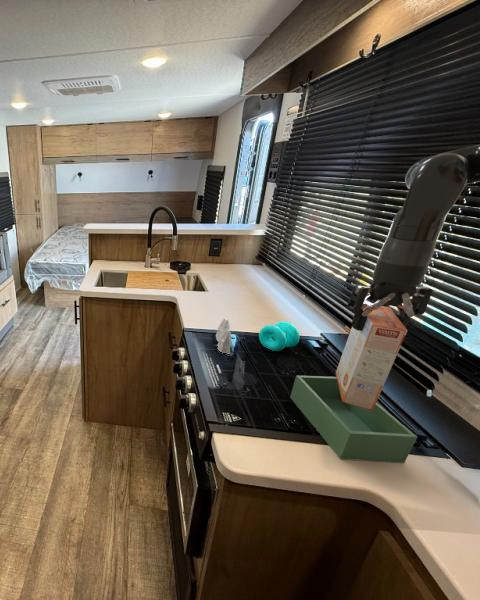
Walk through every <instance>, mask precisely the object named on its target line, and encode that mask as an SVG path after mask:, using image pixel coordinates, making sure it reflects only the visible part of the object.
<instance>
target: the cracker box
mask: <svg viewBox="0 0 480 600" xmlns="http://www.w3.org/2000/svg"><path fill="white" fill-rule="evenodd" d="M367 307H368V306H367ZM367 307H366V308H367ZM364 309H365V308H364ZM364 309H363V310H364ZM407 333H408V329H407V327H406V328H405V327H404V325H403V324H402V323H401V321H400V320H399V319H398V317H397V316H396V313H395V312H394V310H393V309H392V308H391V307H390V306H381V307H380V308H379V309H377V310H373V311H372V312H371V313H369V314H368V315H367V320H366V322H365V325H364V328H363V330H362V331H357V330H356V329H354V328H353V327H352V326H351V329H350V331H349V334H348V337H347V340H346V342H345V346H344V348H343V351H342V354H341V357H340V360H339V362H338V365H337V368H336V371H335V377H337V381H338V385H339V390H340V394H341V399H342V402H344V403H347V404H351V405H354V406H358V407H361V408H365V409H368V410H373V409H374V406H375V404H376V402H377V403H378V399H379V397H380V396H381V395H380V394H381V393H382V390H383V388H384V386H385V384H386V381H387V379H388V377H389V374H390V372H391V370H392V367H393V365H394V364H395V360H396V358H397V356H398V354H399V351H400V349H401V347H402V345H403V342H404V340H405V338H406V335H407Z"/></svg>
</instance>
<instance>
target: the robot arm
mask: <svg viewBox="0 0 480 600" xmlns="http://www.w3.org/2000/svg"><path fill="white" fill-rule="evenodd" d="M405 173H406V174H405V176H404V183H405V186H406V187H407V189H408V191H407V195H406V197H405V199H404V203H403V205H402V207H401V209H400V210H398V211H397V212H396V214H395V216H394V218H393V219H392V223H391V225H390V228H389V232H388V234H387V237H386V239H385V241H384V243H383V245H382V247H381V248H380V249H381V250H380V253H379V255H378V257H377V262H376V264H375V266H374V270H373V273H372V275H371V277H372V283H371V284H370V285H369V286H366V285H365V286H364V285H363V286H362V285H361V284H355V285H354V286H353V288H352V291H351V294H350V297H349V299H348V302H347V305H346V309H347V310H349V312H351V313H354V314H353V318H352V320H351V323H350V324H351V328H352V327H353V328H354V329H356V330H357V331H362V330H363V328H364V325H365V322H366V320H367V315H368V314H369V313H371V312H372V311H373V310H377V309H379V308H380V307H381V306H384V307H390V306H391V307H394V308H396V309H397V311H398V313H395V315H396V316H397V317H398V319H399V320H400V321H401V323H402V324H403V325H404V327H405V328H406V329H407V327H408V324H409V322H410V320H411V318H413V317H414V316H417V315H420V316H422V315H424V314H425V313H426V309H427V307H428V304H429V302H430V300H431V297H432V294H433V289H432V288H429V287H427V286H425V285H421V284H422V283H423V280H424V278H425V275H426V273H427V271H428V268H429V265H430V263H431V261H432V259H433V256H434V253H435V249H436V246H437V245H436V244H437V241H438V239H439V237H440V234H441V231H442V229H443V227H444V224H445V221H446V217H447V216H448V214H449V213H450V211H451V210H452V208H453V206H455V204H456V202H457V200H458V199H459V198H460V196H461V194H462V193H463V190H464V188H465V187H466V185H470V184H475V183H478V182H480V144H476V145H472V146H471V145H470V146H467V147H463V148H459V149H454V150H449V151H446V152H442V153H437V154H433V155H430V156H427V157H424V158H422V159H420V160H418V161H416V162H415V163H413V165H411V167H409V168H408V170H407V171H406V172H405ZM367 306H368V307H367ZM366 307H367V308H366ZM364 308H365V309H364ZM363 309H364V310H363Z"/></svg>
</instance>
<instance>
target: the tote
mask: <svg viewBox="0 0 480 600" xmlns="http://www.w3.org/2000/svg"><path fill="white" fill-rule="evenodd" d="M289 398H290V399H291V400H292V402H293V403H294V404H295V405H296V407H297V409H299V410H300V412H301V413H302V414H303V416H305V418H306V419H307V421H309V423H310V424H311V425H312V426H313V428H314V429H315V428H316V429H315V430H316V431H317V433H318V434H319V433H320V434H319V435H320V436H321V437H322V439H323V440H324V441H325V442H326V443H327V445H328V446H329V447H330V449H331V450H332V451H333V452H334V454H336V456H337V457H338V459H340V460H348V461H350V460H351V461H366V462H381V463H395V464H396V463H397V464H405V463H406V461H407V460H408V457H409V455H410V453H411V451H412V449H413V448H414V445H415V443H416V442H417V439H418V436H417V435H416V434H414V433H413V432H412V431H411V430H410V429H409V428H407V427H406V426H405V425H404V424H403V423H402V422H400V421H399V419H397V418H396V417H395V416H393V415H392V414H391V413H390V412H389V411H388V410H386V409H385V408H384V407H383V406H382V405H381V404H379V403H378V401H377V402H376V404H375V406H374V409H373V410H368V409H365V408H361V407H358V406H354V405H351V404H347V403H344V402H342V399H341V394H340V390H339V385H338V381H337V377H336V376H322V375H321V376H320V375H319V376H318V375H295V378H294V383H293V385H292V389H291V393H290V396H289Z"/></svg>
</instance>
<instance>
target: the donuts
mask: <svg viewBox="0 0 480 600" xmlns="http://www.w3.org/2000/svg"><path fill="white" fill-rule="evenodd" d="M300 337H301V336H300V332H299V329H298V328H297V327H296V325H294V324H293V323H291V322H289V321H284V320H283V321H278V322H277V323H275V324H267V325H264V326H263V327H261V329H260V330H259V333H258V338H259V342H260V344H261V345H262V346H263V348H265V347H266V348H268V349H270V350H272V351H271V352H273V351H277V352H281V351H283V349H285V348H287V347H289V348H293V347H295V346H296V345H298V343H299V341H300ZM266 348H265V349H266ZM268 349H267V350H268ZM270 350H269V351H270Z"/></svg>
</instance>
